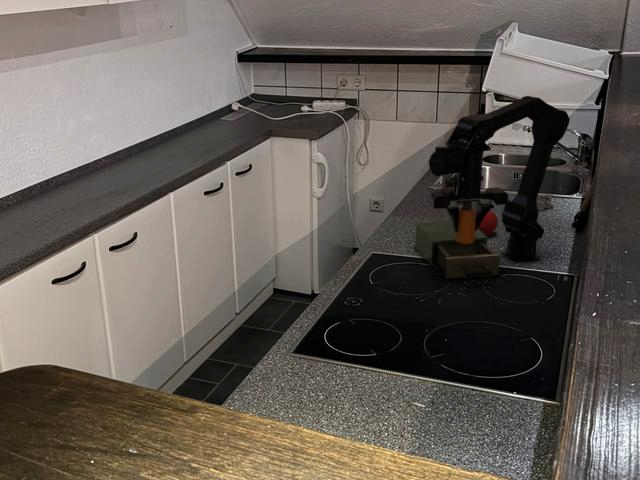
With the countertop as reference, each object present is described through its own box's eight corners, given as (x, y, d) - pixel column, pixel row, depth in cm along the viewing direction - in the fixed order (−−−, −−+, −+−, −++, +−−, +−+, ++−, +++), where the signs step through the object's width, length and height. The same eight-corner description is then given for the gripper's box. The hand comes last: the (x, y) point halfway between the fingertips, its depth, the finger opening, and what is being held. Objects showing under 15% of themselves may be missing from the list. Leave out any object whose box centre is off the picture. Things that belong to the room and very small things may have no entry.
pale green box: (485, 262, 199) (487, 237, 196) (431, 266, 197) (432, 241, 195) (466, 243, 212) (468, 219, 210) (415, 247, 211) (416, 222, 208)
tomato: (484, 227, 224) (486, 201, 222) (503, 236, 217) (505, 209, 214) (459, 231, 221) (460, 205, 218) (478, 241, 214) (479, 214, 211)
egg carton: (554, 207, 240) (555, 195, 238) (538, 212, 236) (539, 199, 234) (526, 199, 248) (527, 187, 247) (511, 203, 244) (512, 191, 243)
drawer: (505, 281, 185) (507, 261, 183) (451, 285, 184) (453, 265, 182) (479, 255, 201) (480, 236, 199) (429, 258, 200) (430, 239, 198)
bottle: (470, 236, 193) (473, 199, 190) (477, 243, 189) (479, 204, 185) (453, 237, 193) (455, 200, 189) (459, 244, 189) (461, 205, 185)
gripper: (494, 159, 193) (489, 218, 198) (422, 163, 191) (419, 223, 196) (511, 171, 182) (506, 232, 188) (436, 175, 180) (432, 237, 186)
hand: (465, 230), depth 190 cm, fingers closed on bottle, 5 cm apart
